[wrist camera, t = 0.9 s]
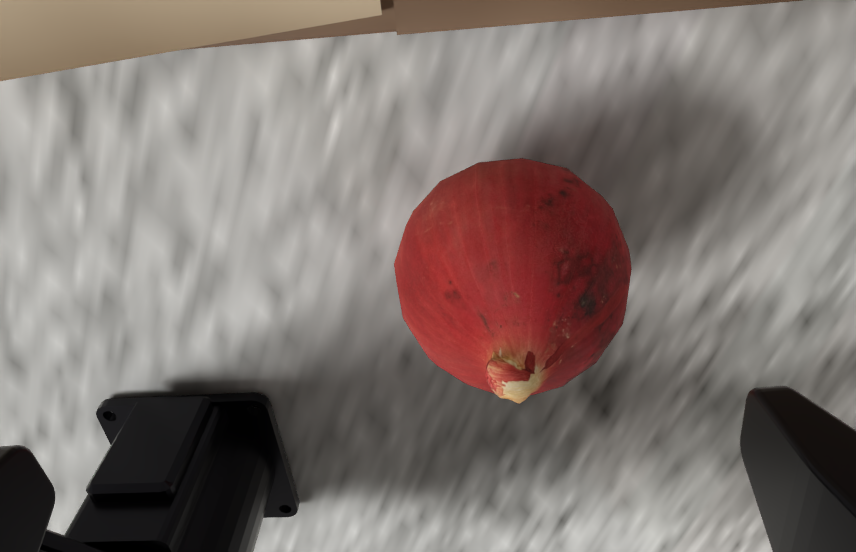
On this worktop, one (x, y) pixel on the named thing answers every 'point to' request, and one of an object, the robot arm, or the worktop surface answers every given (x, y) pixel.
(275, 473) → the robot arm
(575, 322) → the onion
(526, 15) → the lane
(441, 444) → the worktop surface
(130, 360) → the worktop surface
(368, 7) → the ramp
